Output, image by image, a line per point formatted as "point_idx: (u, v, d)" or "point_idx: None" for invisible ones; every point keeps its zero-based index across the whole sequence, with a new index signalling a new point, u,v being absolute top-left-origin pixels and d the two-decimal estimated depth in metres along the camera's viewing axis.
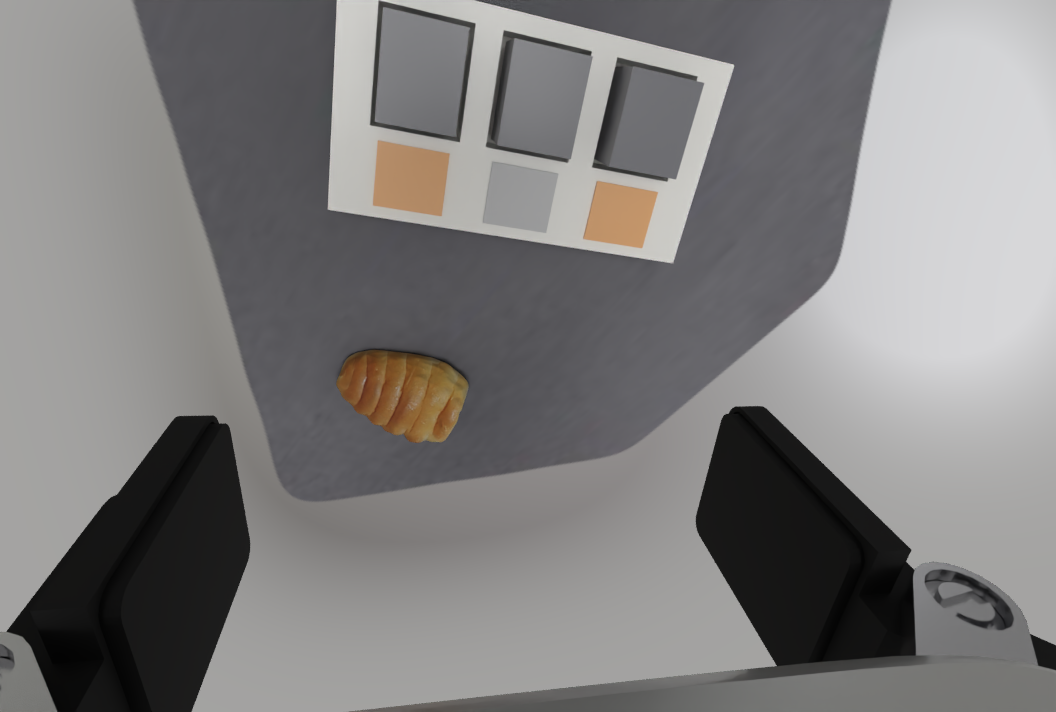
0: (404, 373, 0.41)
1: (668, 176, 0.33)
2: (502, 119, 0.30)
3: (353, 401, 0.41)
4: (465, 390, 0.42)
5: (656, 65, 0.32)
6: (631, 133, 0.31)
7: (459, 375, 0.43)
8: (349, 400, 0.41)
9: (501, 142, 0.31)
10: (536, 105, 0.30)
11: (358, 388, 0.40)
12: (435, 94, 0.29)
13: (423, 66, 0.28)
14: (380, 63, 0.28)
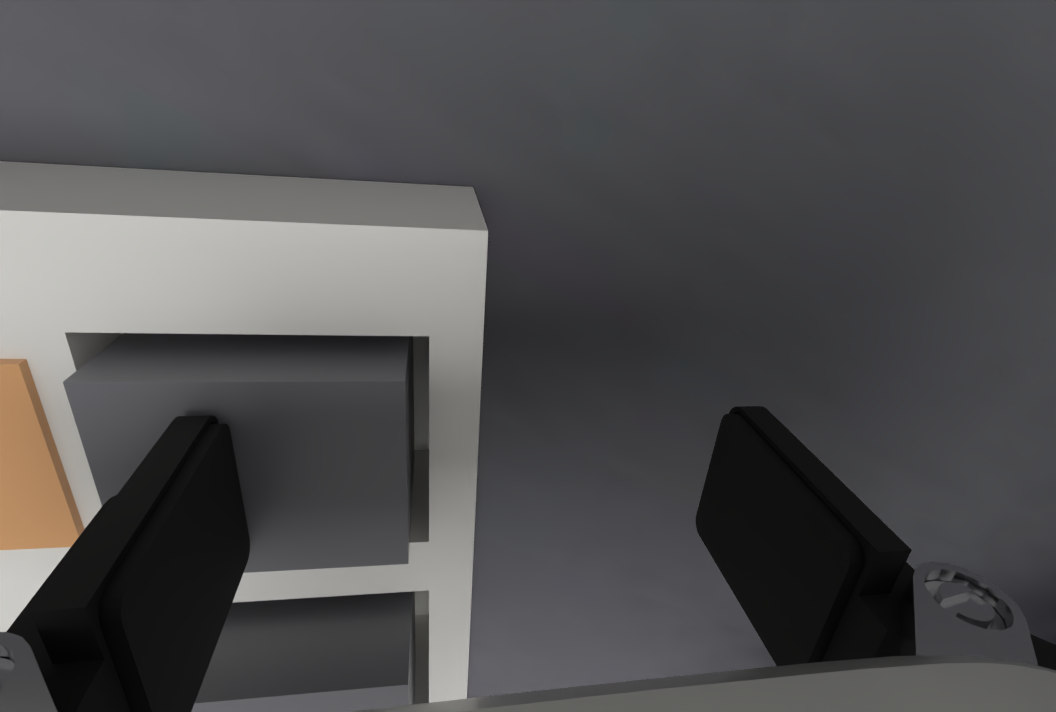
0: None
1: None
2: (203, 703, 0.11)
3: None
4: None
5: None
6: None
7: None
8: None
9: None
10: None
11: None
12: None
13: (284, 487, 0.10)
14: (252, 385, 0.09)
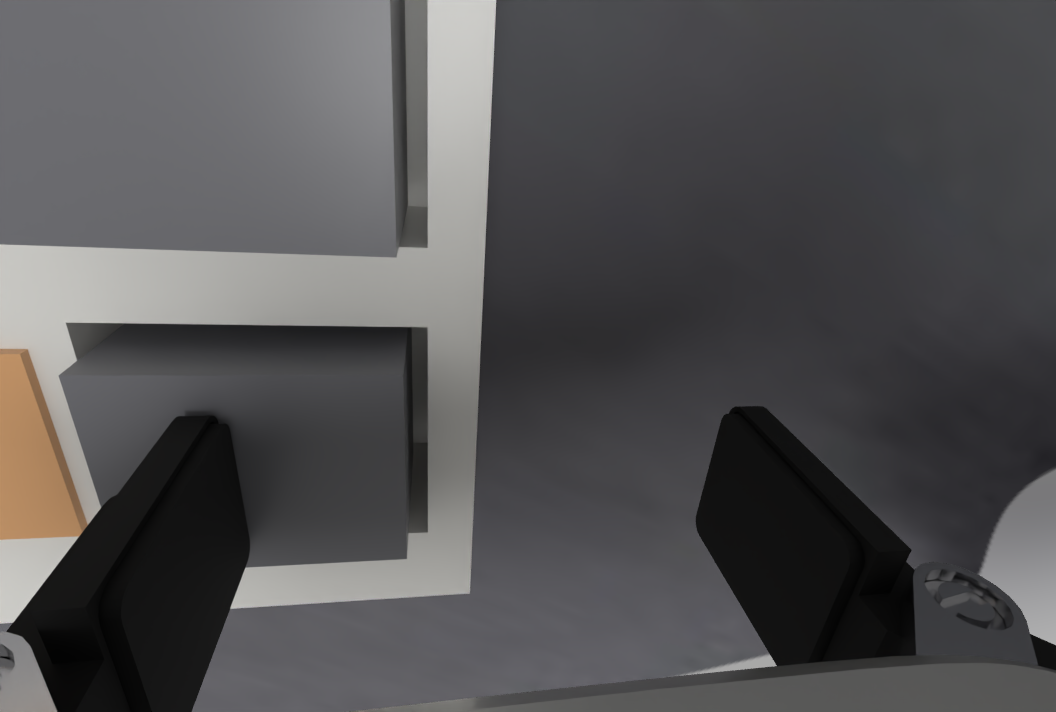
0: None
1: None
2: None
3: None
4: None
5: (430, 433, 0.11)
6: None
7: None
8: None
9: None
10: (129, 34, 0.06)
11: None
12: None
13: None
14: None
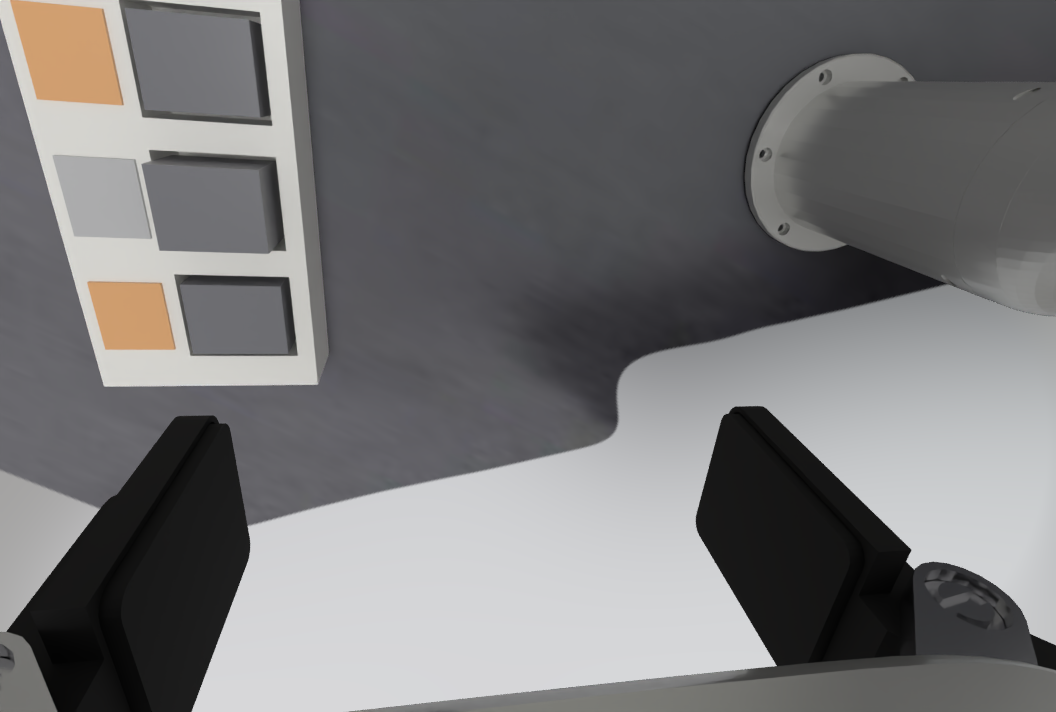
0: None
1: (193, 345, 0.32)
2: (172, 166, 0.27)
3: None
4: None
5: (294, 315, 0.33)
6: (219, 298, 0.31)
7: None
8: None
9: (146, 168, 0.27)
10: (201, 203, 0.28)
11: None
12: (182, 84, 0.27)
13: (206, 67, 0.27)
14: (191, 16, 0.26)
